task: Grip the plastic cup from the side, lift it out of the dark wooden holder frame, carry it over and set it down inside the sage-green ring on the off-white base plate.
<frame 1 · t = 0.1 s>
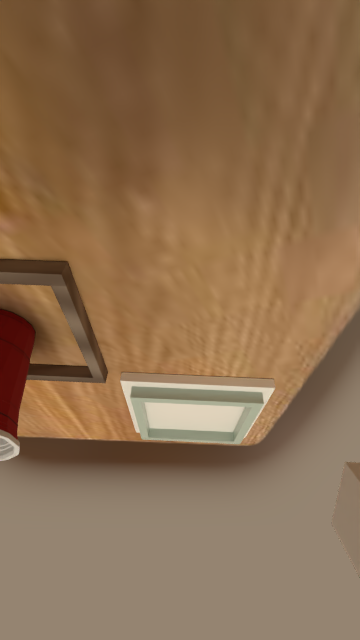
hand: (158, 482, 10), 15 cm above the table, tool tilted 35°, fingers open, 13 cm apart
plastic cup: (9, 324, 29), resting in holder frame
holder frame: (8, 326, 29), on the table
base plate: (193, 406, 42), on the table
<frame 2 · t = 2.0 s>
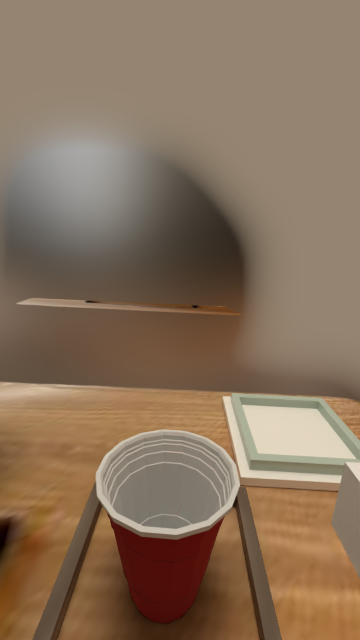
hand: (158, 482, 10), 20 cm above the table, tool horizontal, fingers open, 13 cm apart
plastic cup: (164, 580, 25), resting in holder frame
holder frame: (164, 578, 24), on the table
base plate: (290, 438, 43), on the table
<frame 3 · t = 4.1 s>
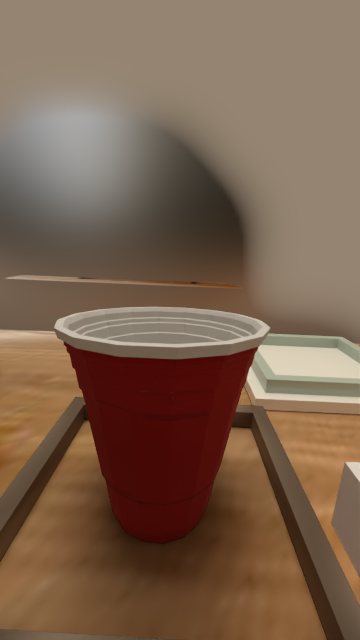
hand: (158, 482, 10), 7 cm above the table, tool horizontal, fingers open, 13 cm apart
plastic cup: (159, 497, 18), resting in holder frame
holder frame: (159, 494, 18), on the table
base plate: (309, 372, 37), on the table
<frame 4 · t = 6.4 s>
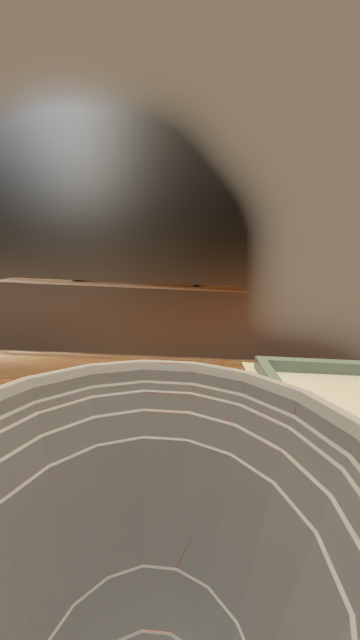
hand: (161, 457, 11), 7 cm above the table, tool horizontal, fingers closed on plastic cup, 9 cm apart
base plate: (354, 415, 28), on the table
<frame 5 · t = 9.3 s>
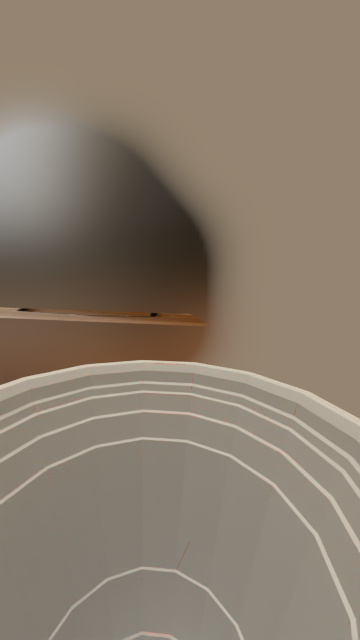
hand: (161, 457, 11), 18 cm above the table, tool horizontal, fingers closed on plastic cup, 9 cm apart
when the fingers open (10 cm above the table, at t = 12.3 s): plastic cup drops 1 cm, point 1 cm above the table.
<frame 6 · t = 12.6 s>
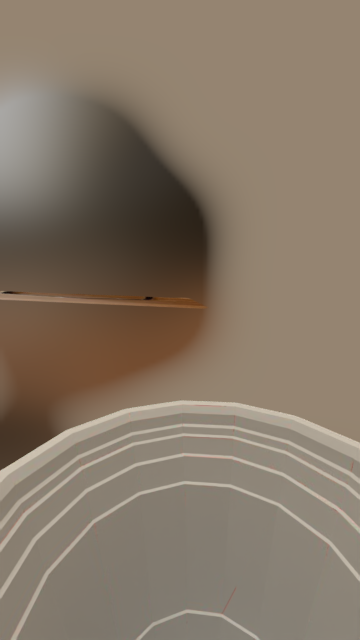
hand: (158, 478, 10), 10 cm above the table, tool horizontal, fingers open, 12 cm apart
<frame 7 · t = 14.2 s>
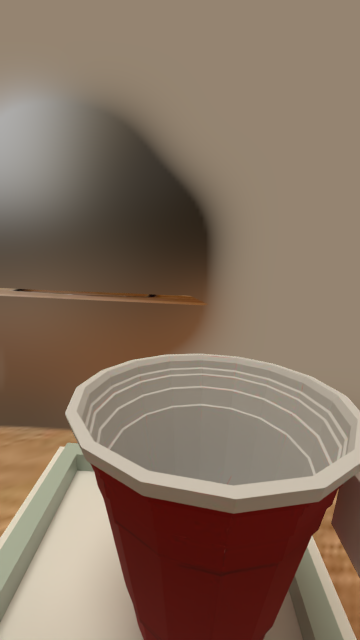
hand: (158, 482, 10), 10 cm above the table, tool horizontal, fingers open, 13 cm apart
plastic cup: (198, 604, 14), point 1 cm above the table, touching base plate, gripper
base plate: (155, 596, 15), on the table
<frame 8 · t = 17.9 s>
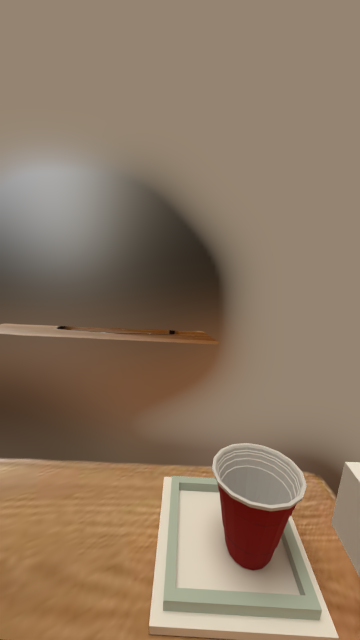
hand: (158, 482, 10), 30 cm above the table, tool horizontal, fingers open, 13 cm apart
plastic cup: (247, 545, 36), point 1 cm above the table, touching base plate
base plate: (228, 544, 38), on the table
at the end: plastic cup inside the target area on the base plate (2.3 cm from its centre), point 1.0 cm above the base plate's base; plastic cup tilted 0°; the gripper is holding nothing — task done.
